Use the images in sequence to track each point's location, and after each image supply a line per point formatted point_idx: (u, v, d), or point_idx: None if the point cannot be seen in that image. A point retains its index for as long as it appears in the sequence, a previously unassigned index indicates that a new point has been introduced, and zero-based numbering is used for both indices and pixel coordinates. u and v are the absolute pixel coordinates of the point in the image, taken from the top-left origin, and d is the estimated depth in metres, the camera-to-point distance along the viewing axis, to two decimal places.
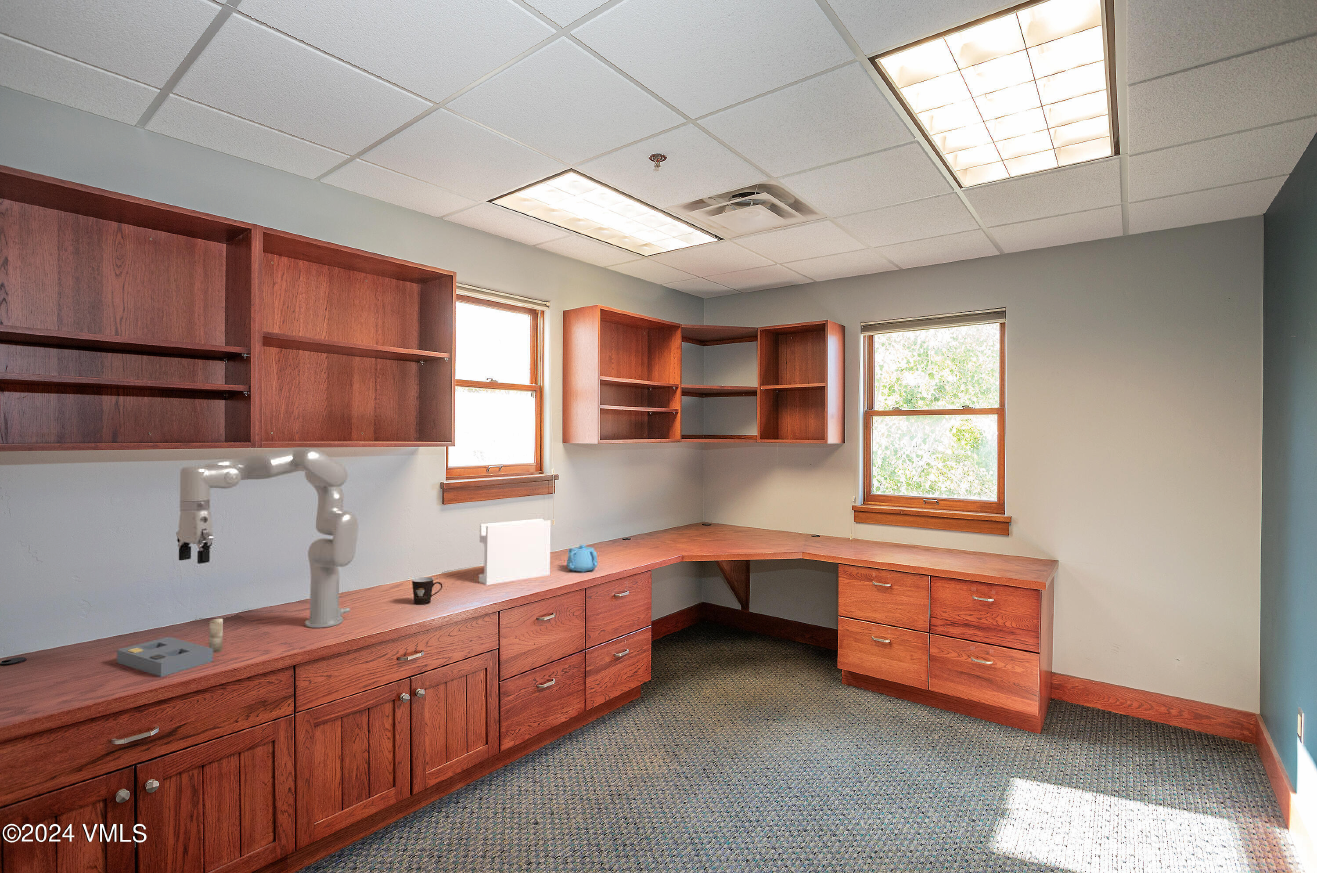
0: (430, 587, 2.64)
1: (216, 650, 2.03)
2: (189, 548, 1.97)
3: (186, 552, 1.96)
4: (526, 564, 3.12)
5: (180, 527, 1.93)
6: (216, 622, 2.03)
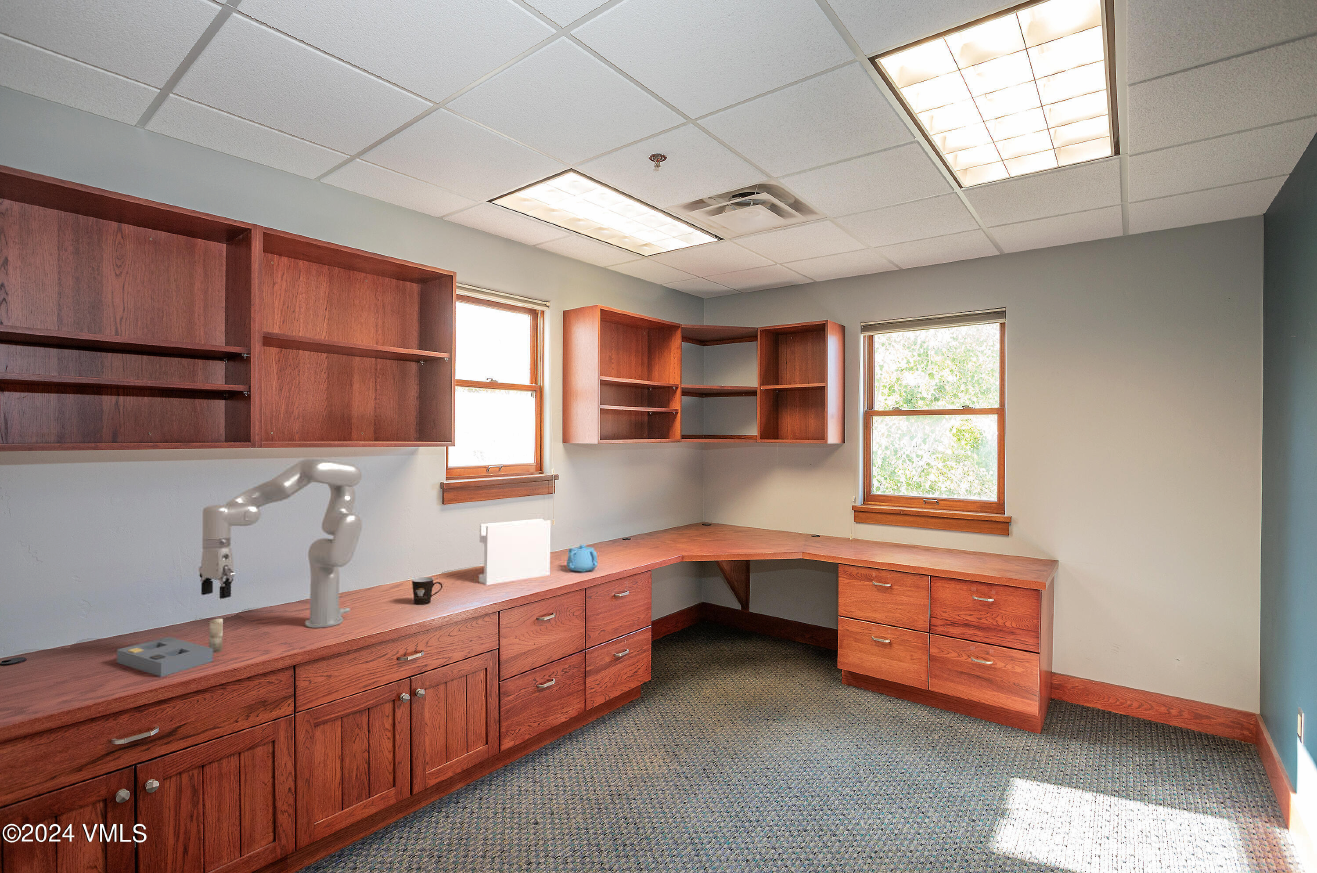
0: (430, 587, 2.64)
1: (216, 650, 2.03)
2: (211, 583, 2.07)
3: (208, 587, 2.06)
4: (526, 564, 3.12)
5: (203, 563, 2.03)
6: (216, 622, 2.03)
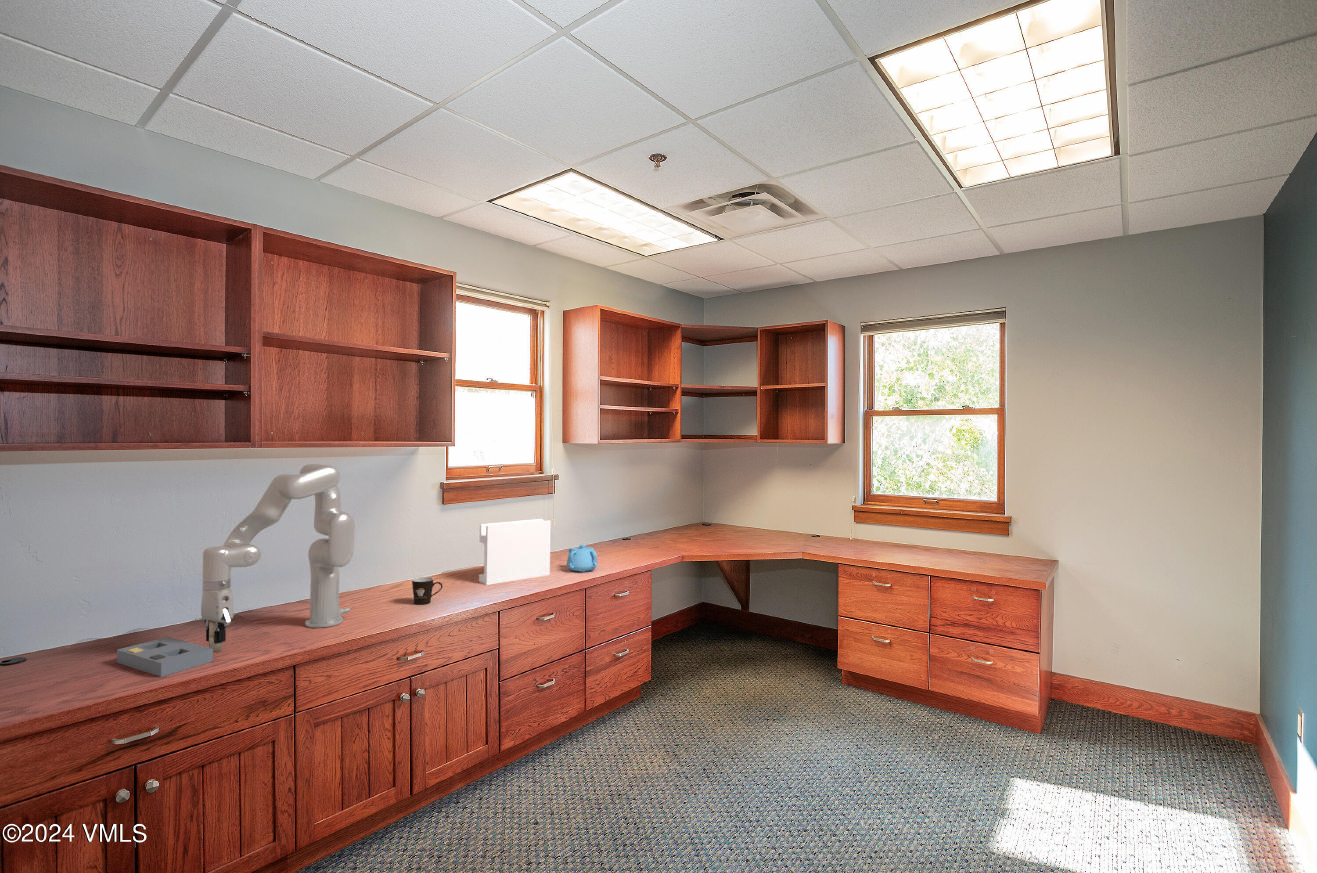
0: (430, 587, 2.64)
1: (216, 650, 2.03)
2: None
3: None
4: (526, 564, 3.12)
5: (203, 605, 2.03)
6: None
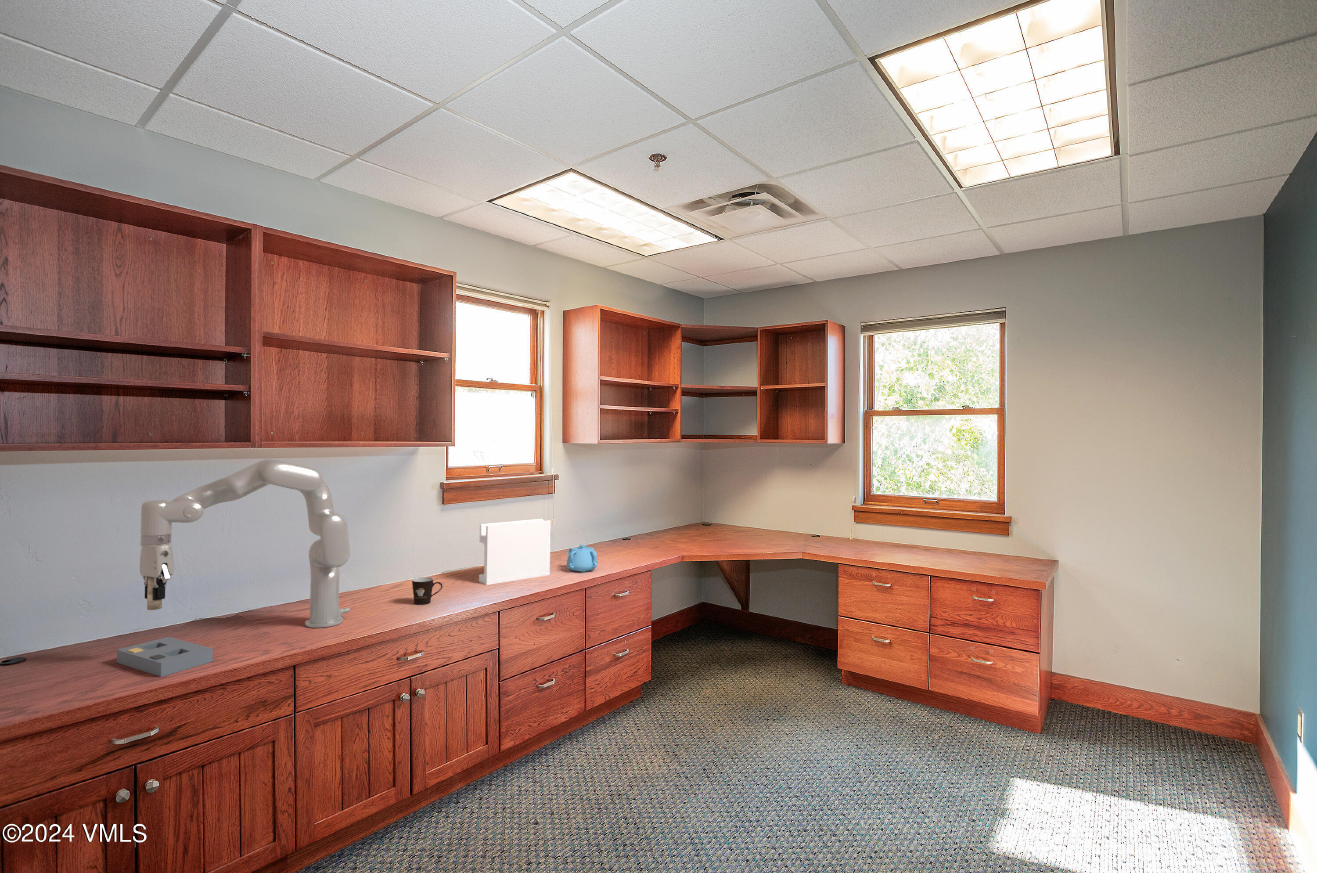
0: (430, 587, 2.64)
1: (154, 607, 1.95)
2: None
3: None
4: (526, 564, 3.12)
5: (141, 561, 1.95)
6: None
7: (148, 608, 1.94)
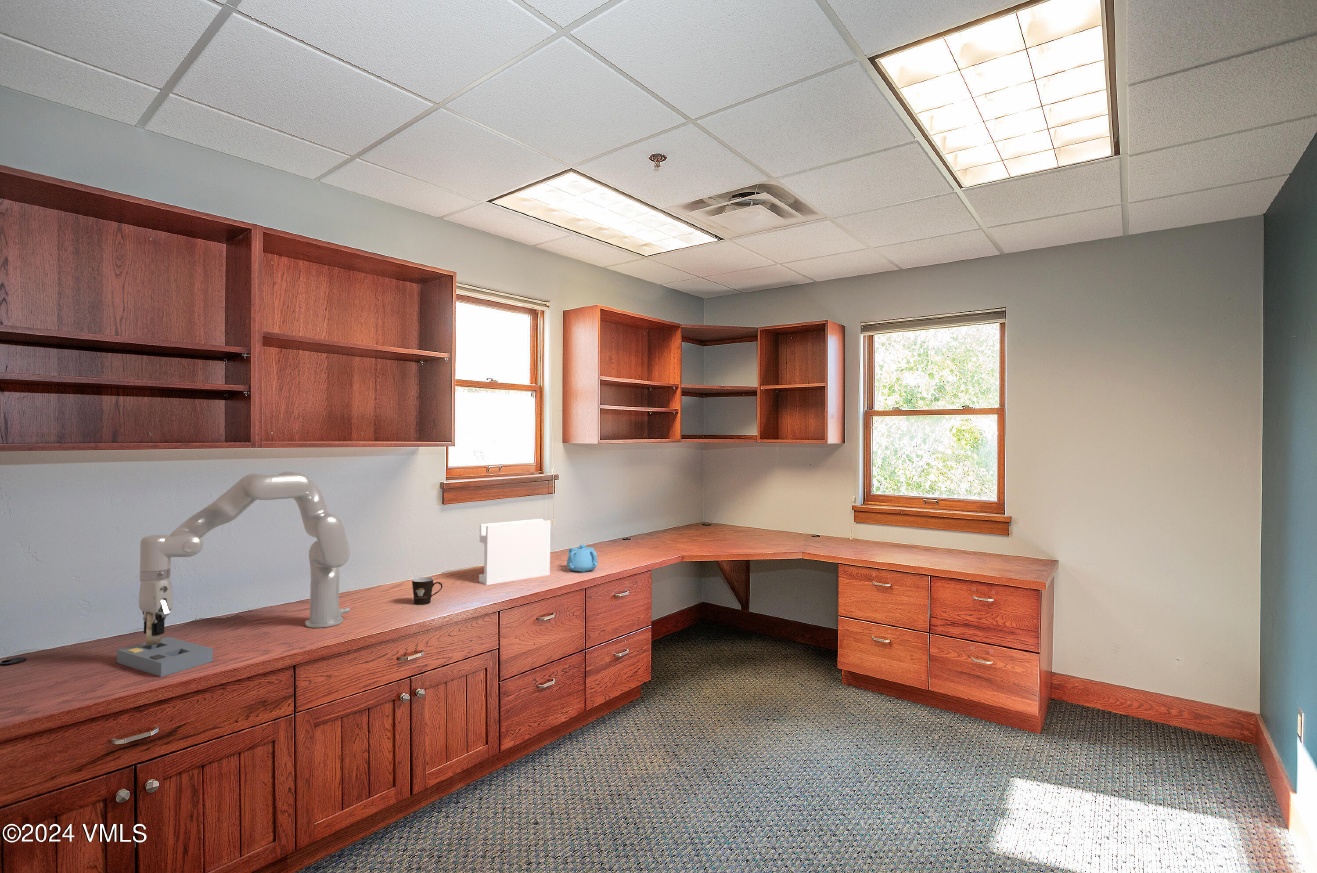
0: (430, 587, 2.64)
1: (153, 643, 1.95)
2: None
3: None
4: (526, 564, 3.12)
5: (140, 596, 1.95)
6: None
7: (147, 643, 1.94)
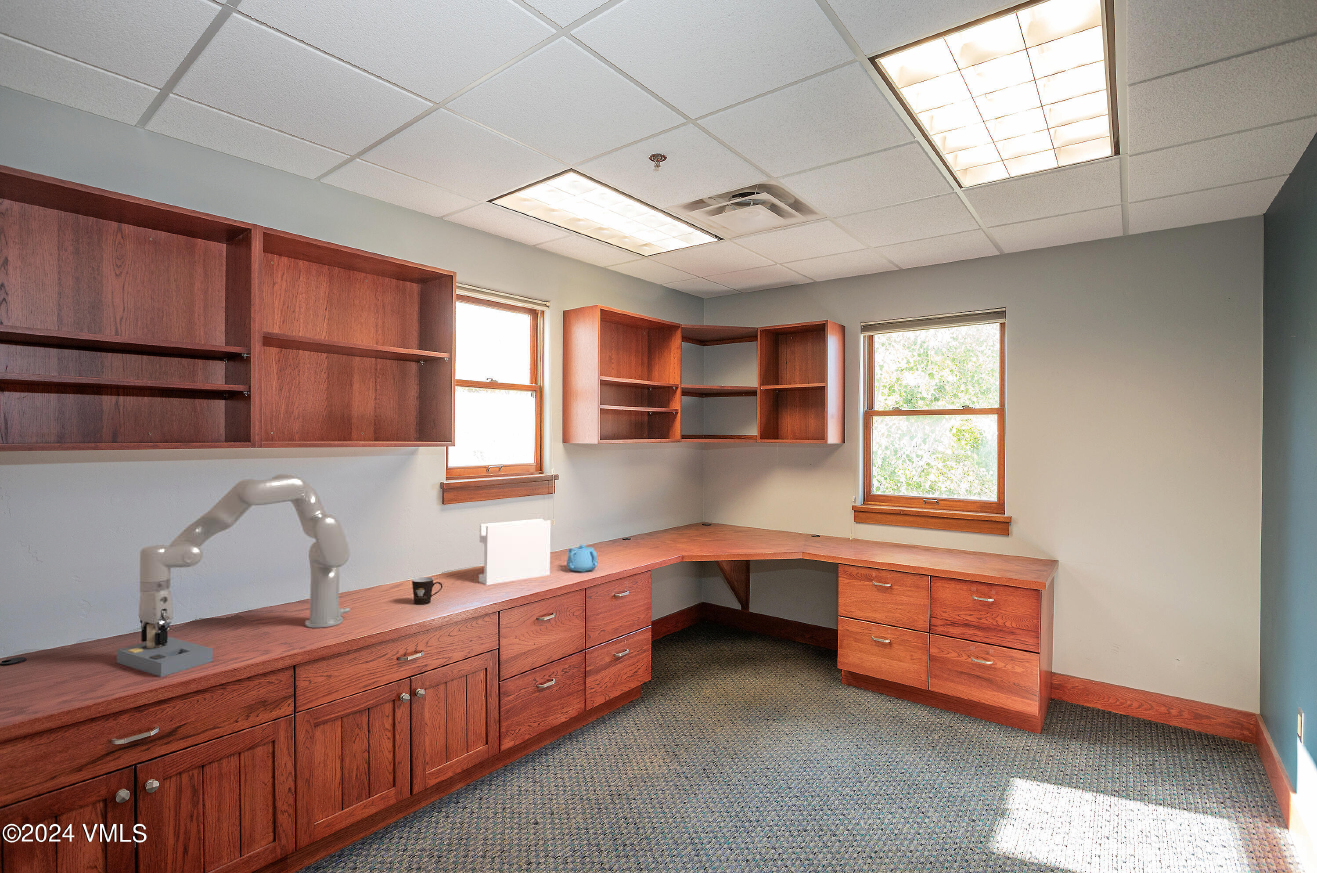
0: (430, 587, 2.64)
1: None
2: None
3: None
4: (526, 564, 3.12)
5: (140, 607, 1.95)
6: (154, 626, 1.95)
7: None
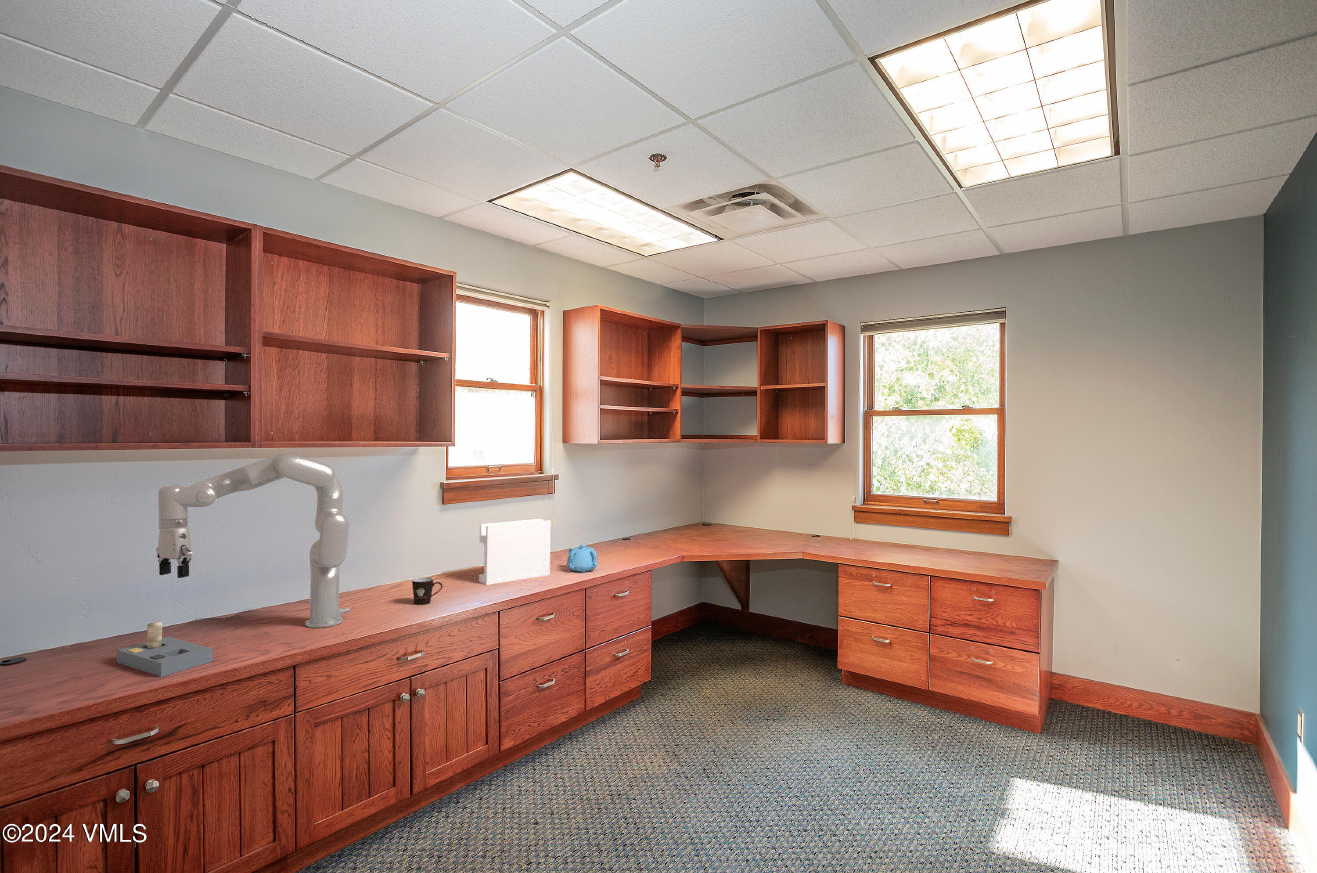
0: (430, 587, 2.64)
1: None
2: (169, 563, 2.08)
3: (166, 567, 2.07)
4: (526, 564, 3.12)
5: (160, 544, 2.04)
6: (154, 626, 1.95)
7: None
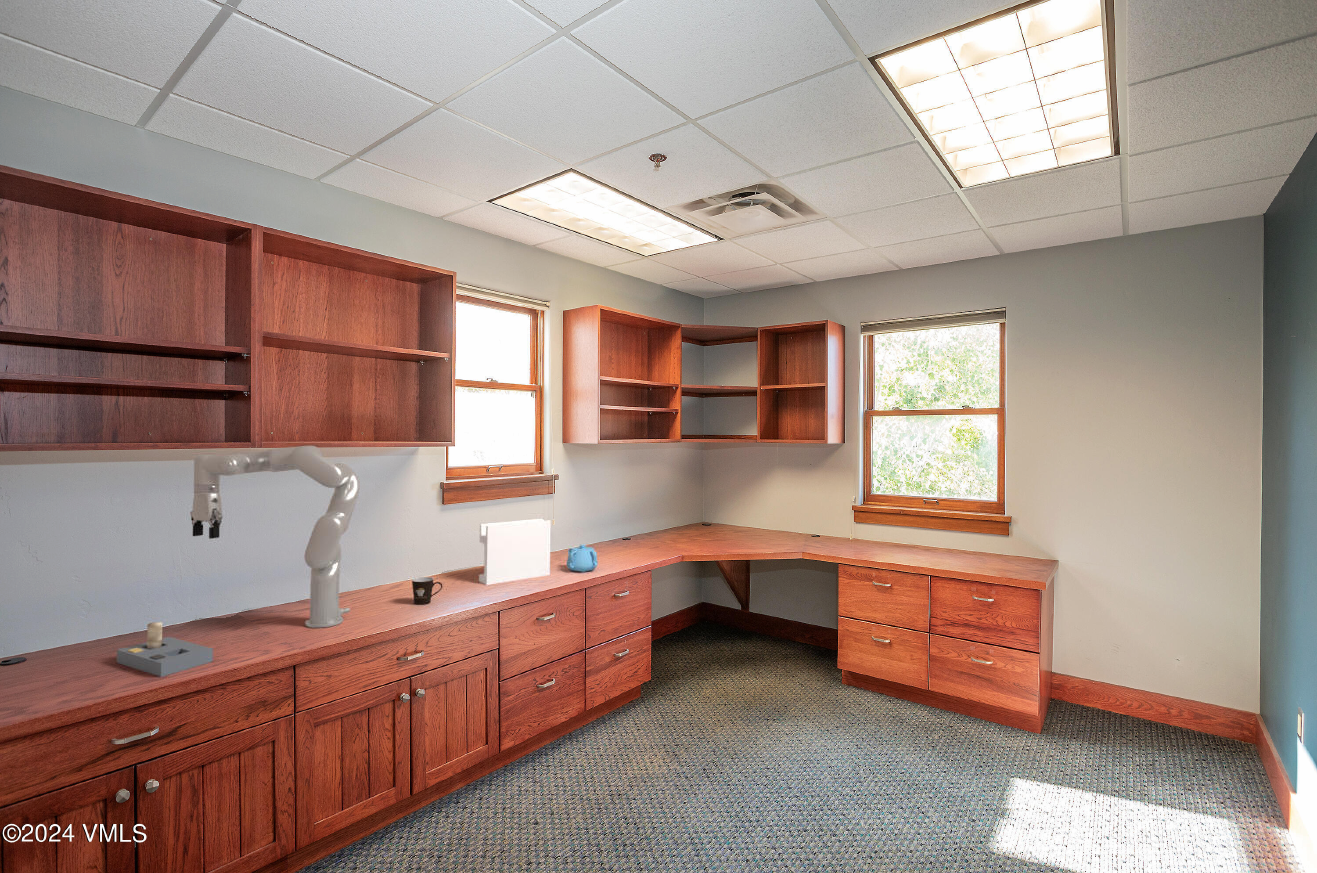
0: (430, 587, 2.64)
1: None
2: (201, 526, 2.28)
3: (199, 529, 2.27)
4: (526, 564, 3.12)
5: (194, 507, 2.24)
6: (154, 626, 1.95)
7: None
